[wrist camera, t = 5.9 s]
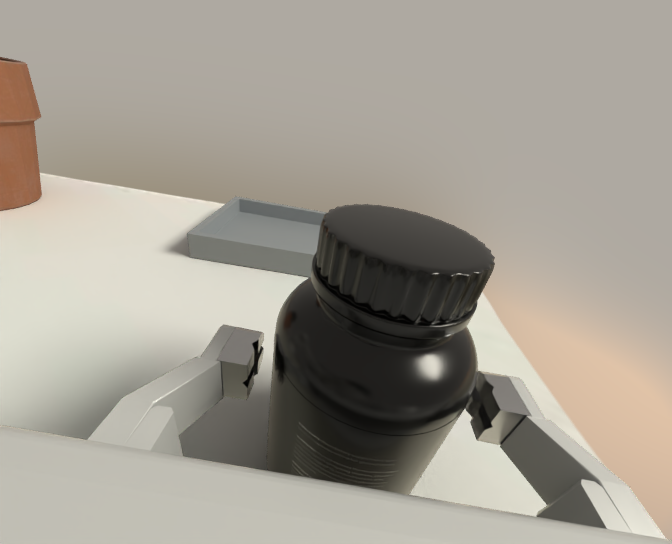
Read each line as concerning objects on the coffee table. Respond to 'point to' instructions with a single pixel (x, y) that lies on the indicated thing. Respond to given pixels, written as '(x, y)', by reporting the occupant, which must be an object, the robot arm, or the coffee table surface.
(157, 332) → the coffee table surface
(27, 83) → the potted plant
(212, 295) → the coffee table surface
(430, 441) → the supplement bottle
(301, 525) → the robot arm
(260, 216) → the grey serving tray
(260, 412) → the coffee table surface
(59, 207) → the coffee table surface
